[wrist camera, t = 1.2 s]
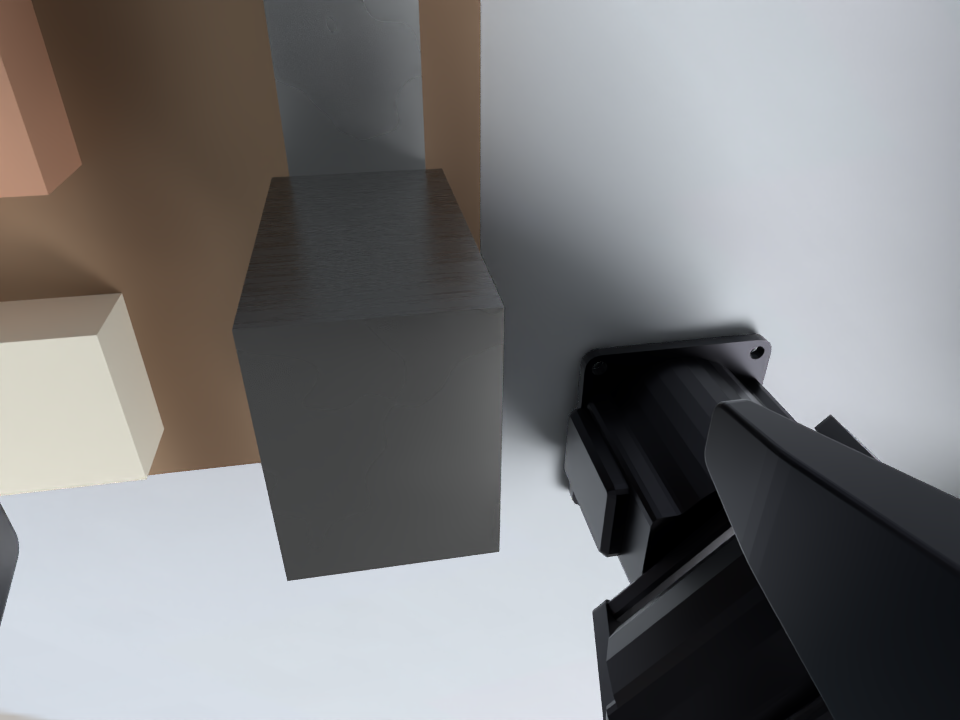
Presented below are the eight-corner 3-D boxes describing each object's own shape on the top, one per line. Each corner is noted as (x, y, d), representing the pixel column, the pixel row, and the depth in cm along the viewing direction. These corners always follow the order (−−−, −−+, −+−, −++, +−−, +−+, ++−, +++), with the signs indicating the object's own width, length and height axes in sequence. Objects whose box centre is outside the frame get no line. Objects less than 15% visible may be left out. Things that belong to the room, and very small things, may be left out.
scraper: (413, -124, 12) (515, -200, 5) (436, 435, 19) (494, 725, 12) (243, -126, 12) (112, -209, 5) (329, 447, 19) (325, 755, 12)
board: (460, -142, 15) (480, -155, 13) (466, 390, 22) (480, 437, 20) (-286, -155, 13) (-409, -173, 11) (-2, 437, 20) (-42, 496, 18)
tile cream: (121, 292, 16) (96, 335, 14) (164, 428, 18) (146, 479, 16) (-68, 307, 15) (-117, 353, 14) (-1, 445, 17) (-37, 500, 16)
